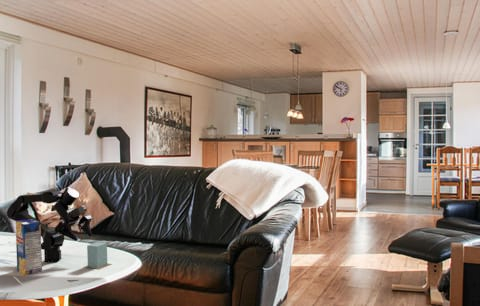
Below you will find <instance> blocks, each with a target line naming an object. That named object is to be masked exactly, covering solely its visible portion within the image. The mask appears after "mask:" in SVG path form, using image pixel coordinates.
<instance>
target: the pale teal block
mask: <svg viewBox="0 0 480 306" xmlns="http://www.w3.org/2000/svg"><path fill="white" fill-rule="evenodd" d="M86 246H87V248H86V253H87V254H86V255H87V265H88V267H92V268H100V267H102V266H105V265H107V263H108V243H107V242H98V241H97V242H94V243H90V244H88V245H86Z"/></svg>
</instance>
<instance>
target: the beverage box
mask: <svg viewBox="0 0 480 306" xmlns="http://www.w3.org/2000/svg"><path fill="white" fill-rule="evenodd" d="M38 221H39V220H38ZM38 221H36V220H33V219H27V220H20V221H14V222H15V245H16V269H17V270H16V271H17V272H18V273H20V274H23V275H24V276H29V275H33V274H39V273H43V258H42V256H43V255H42V249H41V244H42V236H41V223H42V222H41V221H39V222H38Z"/></svg>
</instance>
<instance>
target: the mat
mask: <svg viewBox="0 0 480 306" xmlns="http://www.w3.org/2000/svg"><path fill="white" fill-rule="evenodd" d="M77 281H79V279H67V282H69V283H72V282H77Z"/></svg>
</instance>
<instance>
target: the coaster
mask: <svg viewBox="0 0 480 306" xmlns="http://www.w3.org/2000/svg"><path fill="white" fill-rule="evenodd" d="M111 265H113V263H109V262H107V265H105V266H102V267H100V268H92V267H88V264H87V265H85V266H83V268H84V269H92V270H101V269H104V268H106V267H109V266H111Z"/></svg>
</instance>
